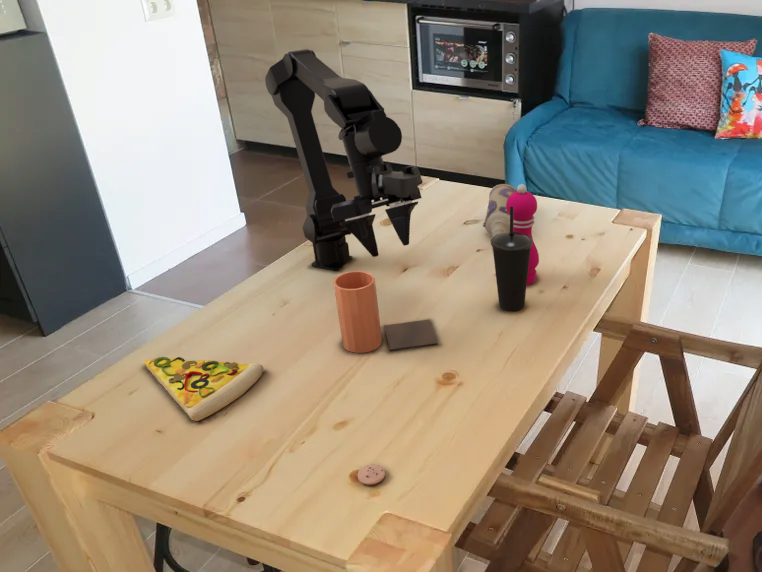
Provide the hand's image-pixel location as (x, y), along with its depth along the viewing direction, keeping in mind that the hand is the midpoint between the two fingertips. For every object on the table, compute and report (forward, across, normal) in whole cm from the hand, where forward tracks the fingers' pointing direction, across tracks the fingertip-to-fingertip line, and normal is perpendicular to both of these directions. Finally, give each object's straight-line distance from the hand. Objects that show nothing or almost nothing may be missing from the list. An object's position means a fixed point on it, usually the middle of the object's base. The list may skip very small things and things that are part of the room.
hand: (391, 250), depth 133 cm
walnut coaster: (+15, -2, 0) cm, 16 cm away
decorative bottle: (+5, +45, +4) cm, 46 cm away
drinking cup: (+16, +16, -12) cm, 26 cm away
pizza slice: (+12, -31, +24) cm, 40 cm away
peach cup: (+14, -8, +6) cm, 17 cm away
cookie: (+27, -35, -14) cm, 46 cm away
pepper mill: (+13, +26, -9) cm, 31 cm away
